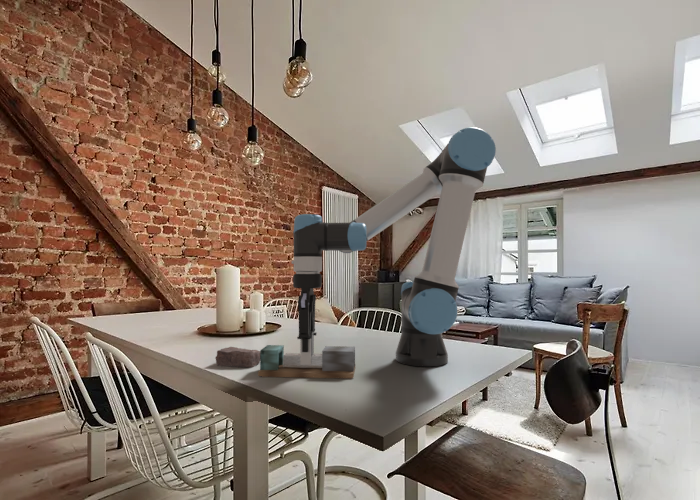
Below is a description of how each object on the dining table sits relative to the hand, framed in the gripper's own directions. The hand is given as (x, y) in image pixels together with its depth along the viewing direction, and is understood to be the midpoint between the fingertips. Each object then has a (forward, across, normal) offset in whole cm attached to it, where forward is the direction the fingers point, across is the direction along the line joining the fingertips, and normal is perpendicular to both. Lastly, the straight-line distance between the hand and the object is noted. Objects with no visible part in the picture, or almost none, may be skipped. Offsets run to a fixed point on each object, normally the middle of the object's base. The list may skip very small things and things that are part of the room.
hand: (307, 362), depth 103 cm
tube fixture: (+3, 0, 0) cm, 3 cm away
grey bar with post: (+1, 0, +2) cm, 2 cm away
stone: (+3, -8, -21) cm, 23 cm away
